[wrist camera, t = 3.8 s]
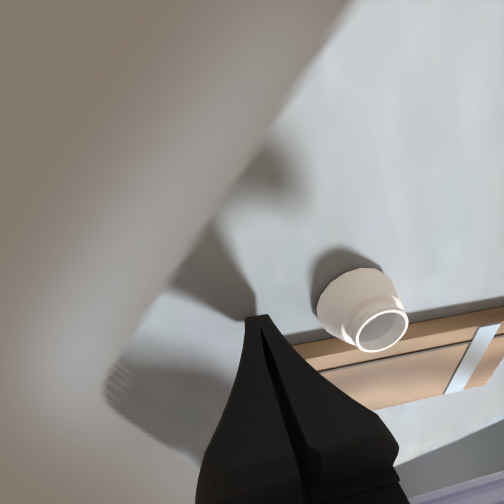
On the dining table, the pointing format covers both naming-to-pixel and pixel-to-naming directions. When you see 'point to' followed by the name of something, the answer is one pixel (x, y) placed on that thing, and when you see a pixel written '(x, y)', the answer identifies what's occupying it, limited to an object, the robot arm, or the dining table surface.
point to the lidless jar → (363, 310)
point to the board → (414, 360)
